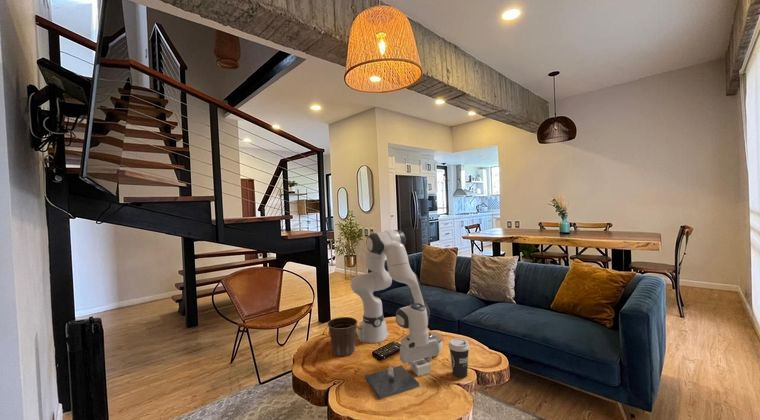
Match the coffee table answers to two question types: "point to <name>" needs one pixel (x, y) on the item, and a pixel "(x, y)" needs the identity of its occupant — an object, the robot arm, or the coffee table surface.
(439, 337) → the lidded bowl
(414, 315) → the robot arm
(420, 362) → the collar
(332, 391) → the coffee table surface
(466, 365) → the coffee cup
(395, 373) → the base plate
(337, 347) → the plant pot
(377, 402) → the coffee table surface
